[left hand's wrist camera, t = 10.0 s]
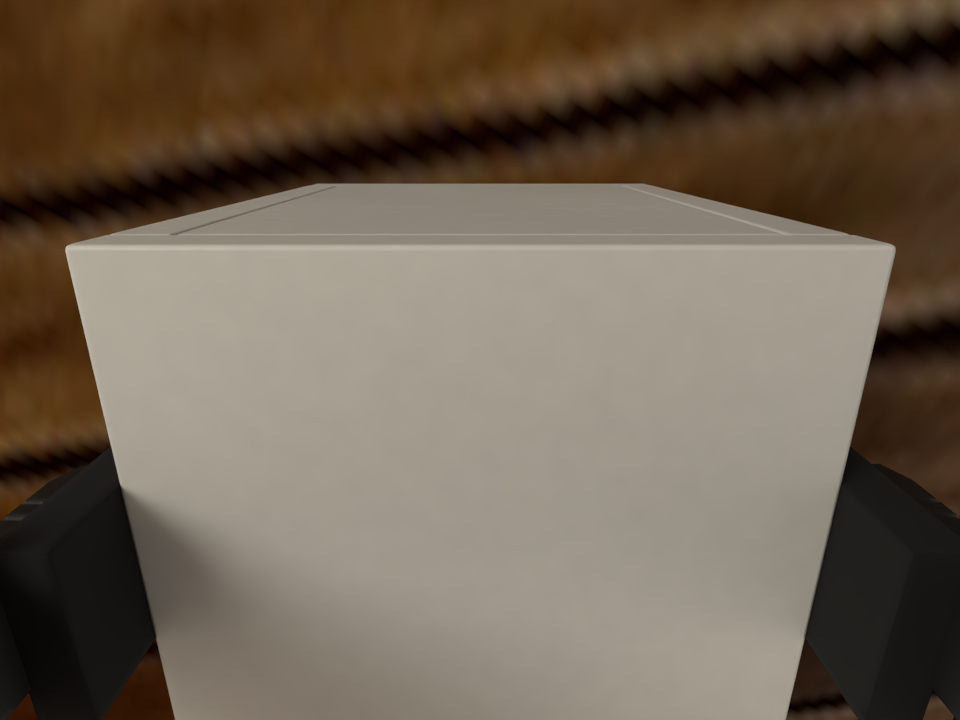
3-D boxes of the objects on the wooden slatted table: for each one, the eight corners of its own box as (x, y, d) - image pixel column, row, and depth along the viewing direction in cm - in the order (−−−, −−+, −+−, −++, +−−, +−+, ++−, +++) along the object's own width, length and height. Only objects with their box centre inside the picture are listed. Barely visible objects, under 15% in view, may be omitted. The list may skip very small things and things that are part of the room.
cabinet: (597, 716, 25) (686, 1149, 14) (363, 716, 25) (274, 1149, 14) (645, 183, 18) (900, 244, 7) (315, 183, 18) (61, 245, 7)
